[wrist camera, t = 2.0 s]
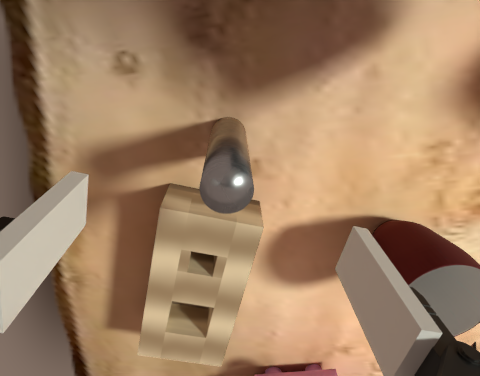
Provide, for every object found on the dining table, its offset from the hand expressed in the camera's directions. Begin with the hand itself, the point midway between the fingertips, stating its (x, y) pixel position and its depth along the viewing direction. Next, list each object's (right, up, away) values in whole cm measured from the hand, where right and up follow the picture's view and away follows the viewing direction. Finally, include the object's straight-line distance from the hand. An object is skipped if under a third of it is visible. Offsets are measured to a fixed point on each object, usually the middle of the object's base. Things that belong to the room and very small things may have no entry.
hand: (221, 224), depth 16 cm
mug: (+16, -3, +19) cm, 25 cm away
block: (-4, -7, +20) cm, 22 cm away
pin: (0, +7, +14) cm, 16 cm away
